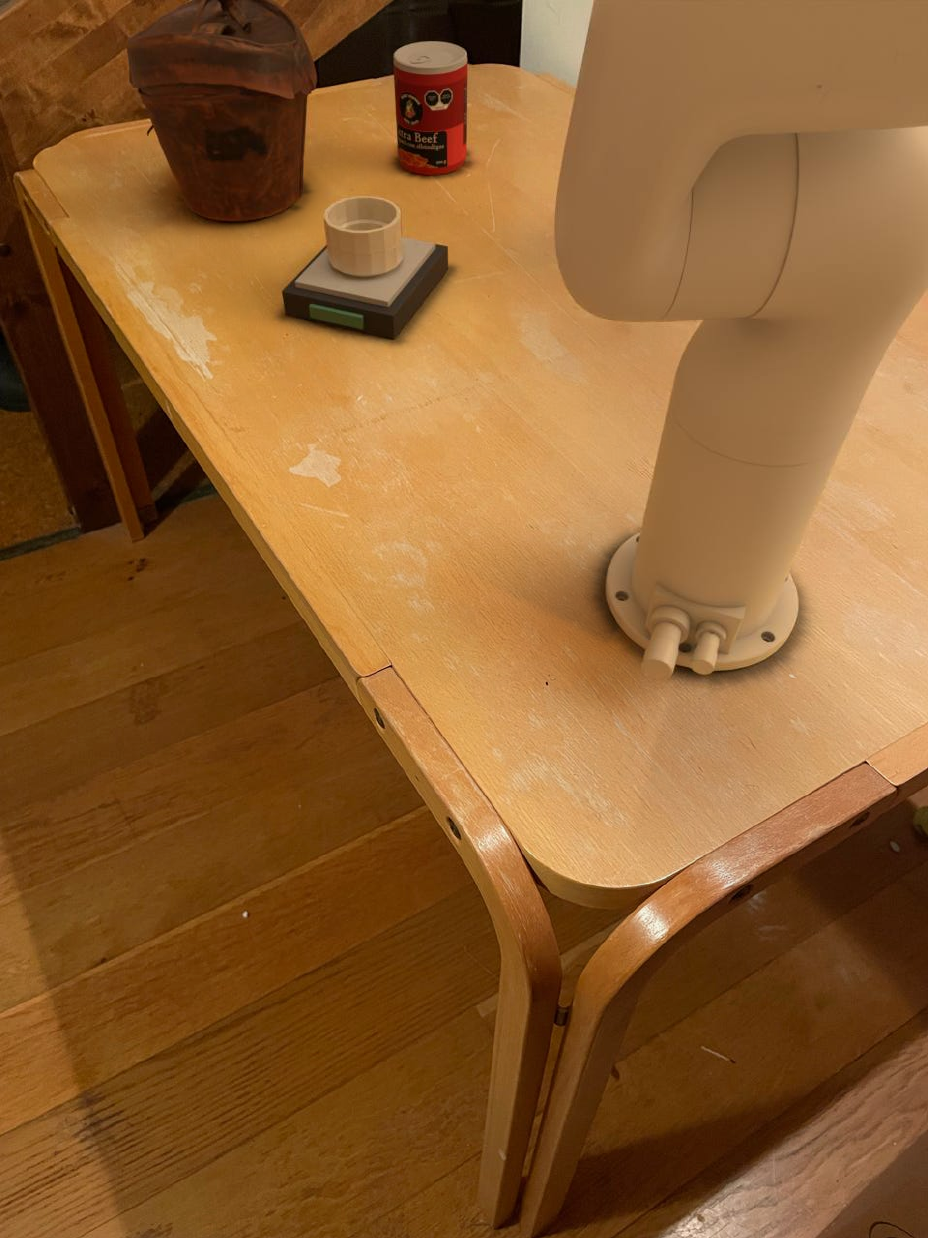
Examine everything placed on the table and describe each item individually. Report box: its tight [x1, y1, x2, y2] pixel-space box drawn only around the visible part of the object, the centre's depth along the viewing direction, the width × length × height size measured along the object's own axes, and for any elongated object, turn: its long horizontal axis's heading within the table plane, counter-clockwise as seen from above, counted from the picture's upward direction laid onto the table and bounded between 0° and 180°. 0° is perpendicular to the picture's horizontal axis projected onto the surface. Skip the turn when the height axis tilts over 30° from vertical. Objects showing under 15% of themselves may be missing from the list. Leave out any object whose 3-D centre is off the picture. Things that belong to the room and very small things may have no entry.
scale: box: [281, 236, 449, 340], centre depth 84 cm, size 14×11×3 cm
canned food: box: [392, 40, 468, 176], centre depth 98 cm, size 8×8×11 cm
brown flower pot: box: [125, 0, 318, 222], centre depth 90 cm, size 18×20×18 cm
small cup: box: [323, 195, 403, 277], centre depth 81 cm, size 7×7×4 cm
